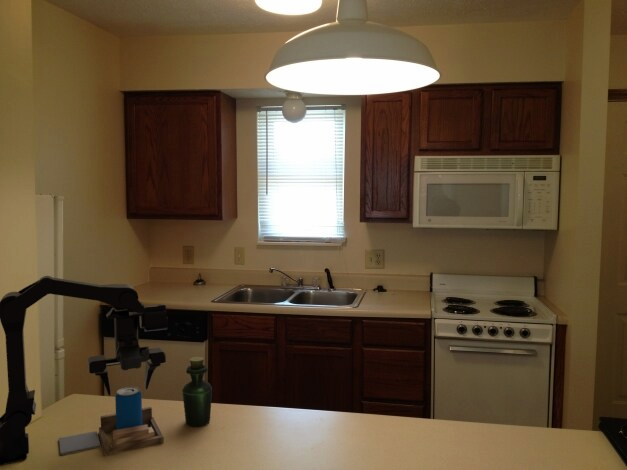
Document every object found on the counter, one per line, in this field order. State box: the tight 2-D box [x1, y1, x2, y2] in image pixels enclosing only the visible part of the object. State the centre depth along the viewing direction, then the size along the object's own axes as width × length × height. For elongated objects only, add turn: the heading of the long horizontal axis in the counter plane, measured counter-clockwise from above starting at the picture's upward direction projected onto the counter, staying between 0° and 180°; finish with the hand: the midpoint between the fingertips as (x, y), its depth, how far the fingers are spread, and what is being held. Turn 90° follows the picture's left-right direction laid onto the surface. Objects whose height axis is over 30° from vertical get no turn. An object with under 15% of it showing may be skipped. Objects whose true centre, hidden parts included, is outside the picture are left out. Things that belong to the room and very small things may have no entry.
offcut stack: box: [110, 425, 156, 446], centre depth 132 cm, size 10×4×4 cm, turn 118°
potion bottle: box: [181, 356, 213, 428], centre depth 144 cm, size 8×8×18 cm
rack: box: [98, 406, 165, 456], centre depth 135 cm, size 14×14×4 cm
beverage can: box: [114, 386, 143, 430], centre depth 136 cm, size 6×6×12 cm
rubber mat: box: [58, 430, 102, 456], centre depth 132 cm, size 9×9×1 cm
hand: (128, 391), depth 136 cm, fingers open, 9 cm apart
